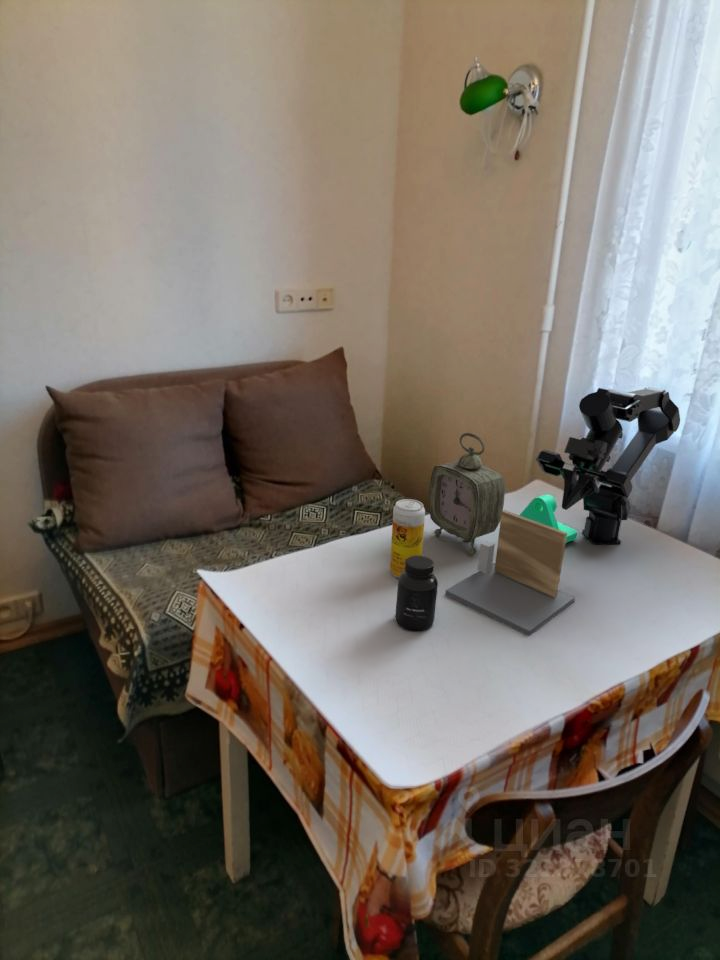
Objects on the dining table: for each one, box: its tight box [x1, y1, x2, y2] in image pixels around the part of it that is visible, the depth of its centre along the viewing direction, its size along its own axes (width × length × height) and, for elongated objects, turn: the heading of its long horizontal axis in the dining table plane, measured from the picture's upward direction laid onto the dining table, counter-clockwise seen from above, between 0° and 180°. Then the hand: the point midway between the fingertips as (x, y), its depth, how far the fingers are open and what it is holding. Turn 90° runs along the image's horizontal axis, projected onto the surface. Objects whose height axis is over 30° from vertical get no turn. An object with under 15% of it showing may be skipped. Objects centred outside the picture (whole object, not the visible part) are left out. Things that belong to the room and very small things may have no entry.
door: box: [494, 509, 567, 597], centre depth 126 cm, size 1×13×13 cm, turn 46°
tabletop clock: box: [428, 432, 506, 556], centre depth 142 cm, size 14×9×25 cm, turn 36°
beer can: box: [389, 498, 426, 579], centre depth 130 cm, size 6×6×15 cm
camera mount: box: [518, 493, 578, 543], centre depth 149 cm, size 12×8×10 cm, turn 36°
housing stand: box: [445, 540, 576, 637], centre depth 124 cm, size 16×18×7 cm
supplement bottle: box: [395, 555, 439, 633], centre depth 115 cm, size 7×7×12 cm
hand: (563, 508), depth 131 cm, fingers closed
